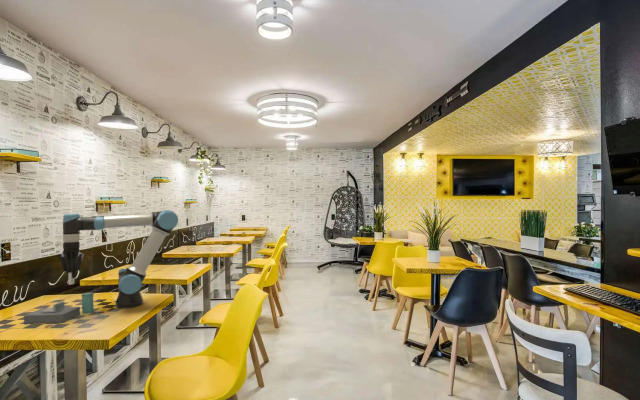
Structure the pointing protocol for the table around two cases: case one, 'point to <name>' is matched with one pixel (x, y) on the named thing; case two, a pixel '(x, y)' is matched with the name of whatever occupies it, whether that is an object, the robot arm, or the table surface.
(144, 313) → the table surface
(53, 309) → the shutter
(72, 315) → the socket
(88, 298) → the plug
